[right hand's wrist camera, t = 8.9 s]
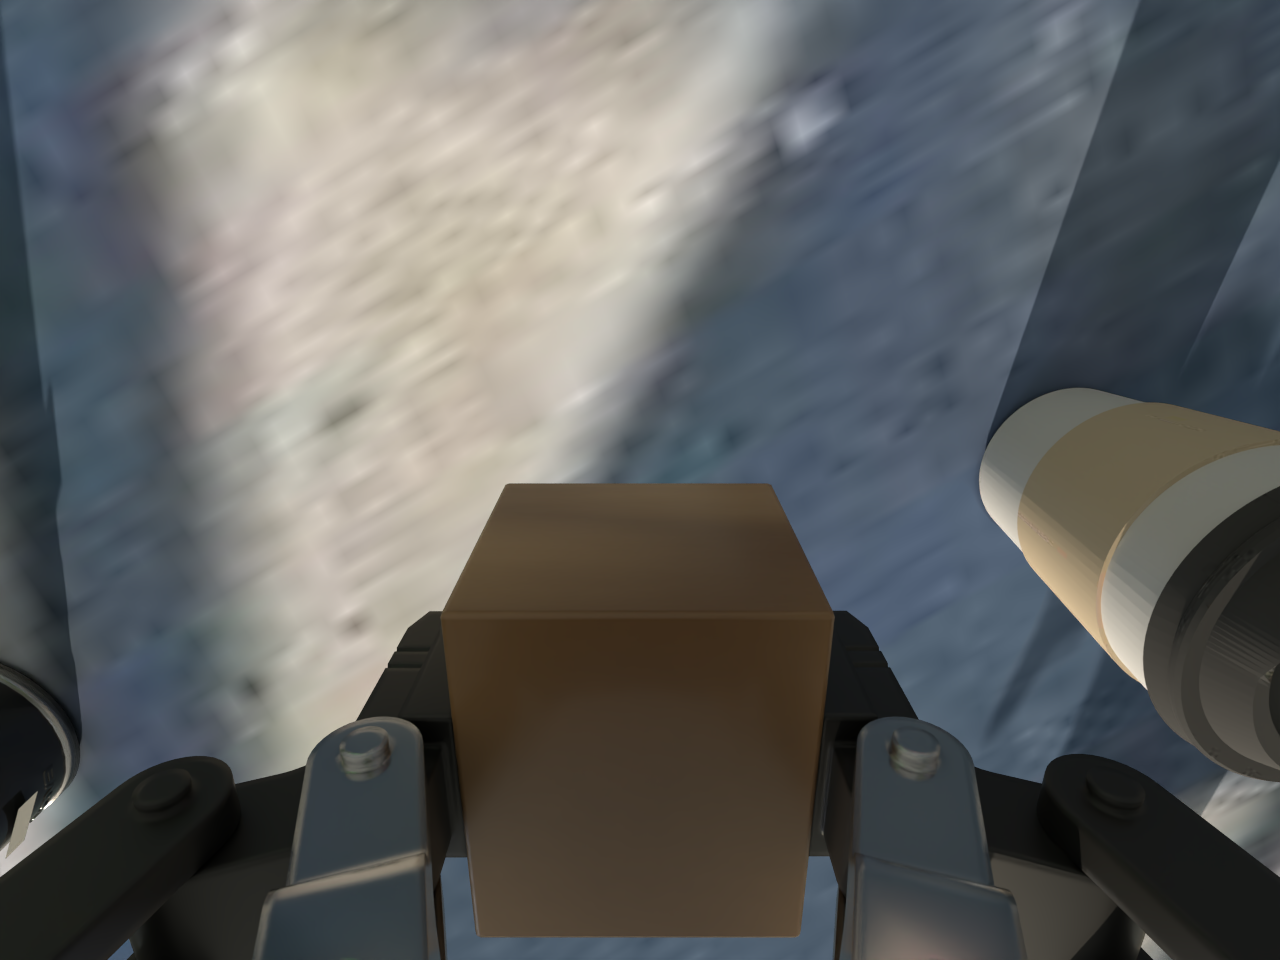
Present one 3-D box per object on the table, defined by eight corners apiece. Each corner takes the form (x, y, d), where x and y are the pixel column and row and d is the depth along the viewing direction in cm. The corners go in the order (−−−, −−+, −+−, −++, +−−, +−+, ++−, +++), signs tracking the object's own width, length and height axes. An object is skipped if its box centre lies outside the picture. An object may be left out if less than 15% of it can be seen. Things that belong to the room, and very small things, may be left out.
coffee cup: (1216, 430, 30) (1728, 624, 16) (1067, 595, 33) (1389, 884, 18) (1051, 319, 28) (1456, 423, 14) (909, 501, 31) (1130, 739, 17)
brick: (522, 730, 14) (474, 940, 10) (504, 481, 12) (438, 614, 8) (754, 730, 14) (801, 940, 10) (771, 481, 12) (836, 614, 8)
